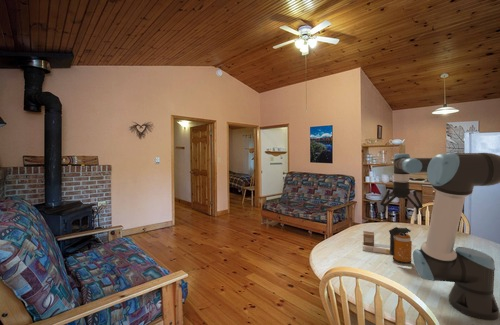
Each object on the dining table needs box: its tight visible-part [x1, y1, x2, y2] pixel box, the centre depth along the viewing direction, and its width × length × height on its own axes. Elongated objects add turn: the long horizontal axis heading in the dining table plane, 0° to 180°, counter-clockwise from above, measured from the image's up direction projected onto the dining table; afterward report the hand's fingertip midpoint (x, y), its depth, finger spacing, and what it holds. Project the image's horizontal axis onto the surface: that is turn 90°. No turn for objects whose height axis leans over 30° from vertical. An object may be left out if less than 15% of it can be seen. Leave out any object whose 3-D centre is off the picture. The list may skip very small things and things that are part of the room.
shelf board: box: [361, 241, 391, 255], centre depth 155 cm, size 14×24×4 cm, turn 66°
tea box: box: [362, 230, 375, 246], centre depth 158 cm, size 6×6×9 cm
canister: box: [388, 226, 413, 265], centre depth 139 cm, size 9×11×20 cm
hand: (400, 218), depth 138 cm, fingers open, 13 cm apart
